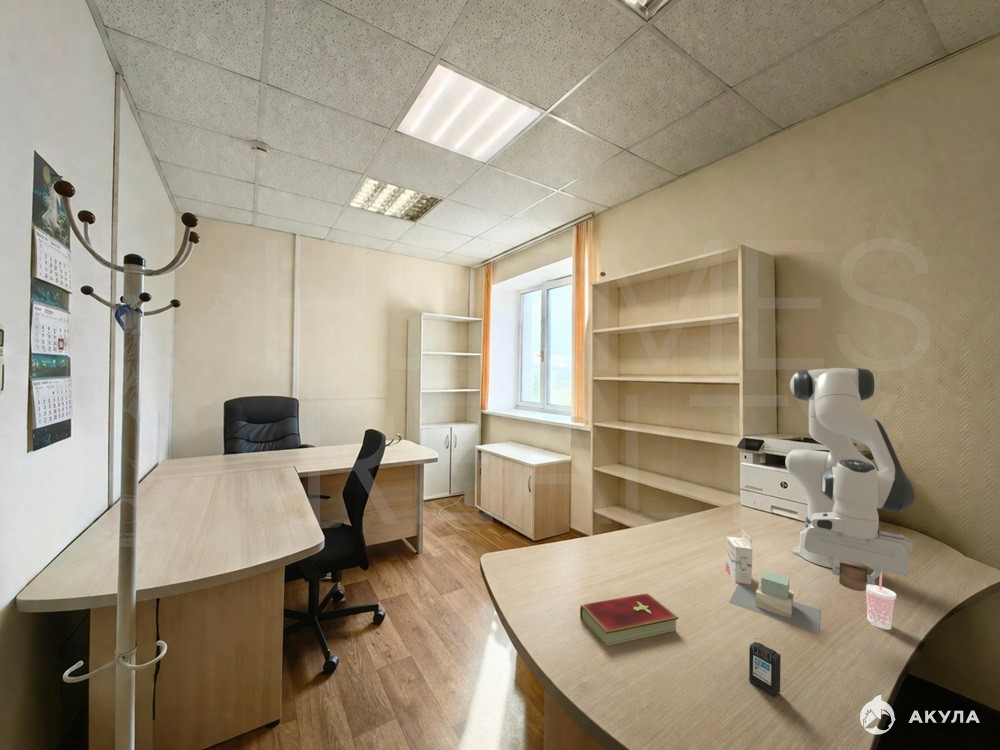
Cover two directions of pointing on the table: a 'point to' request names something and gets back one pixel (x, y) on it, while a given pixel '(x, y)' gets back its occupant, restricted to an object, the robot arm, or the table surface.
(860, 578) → the brown rounded piece
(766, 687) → the ink cartridge
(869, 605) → the beverage cup
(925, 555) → the table surface
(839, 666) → the table surface
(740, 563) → the ink cartridge box
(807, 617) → the mat
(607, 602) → the hardcover book
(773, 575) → the mint green block
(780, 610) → the base slab
